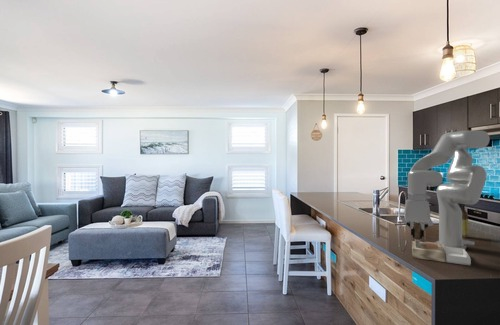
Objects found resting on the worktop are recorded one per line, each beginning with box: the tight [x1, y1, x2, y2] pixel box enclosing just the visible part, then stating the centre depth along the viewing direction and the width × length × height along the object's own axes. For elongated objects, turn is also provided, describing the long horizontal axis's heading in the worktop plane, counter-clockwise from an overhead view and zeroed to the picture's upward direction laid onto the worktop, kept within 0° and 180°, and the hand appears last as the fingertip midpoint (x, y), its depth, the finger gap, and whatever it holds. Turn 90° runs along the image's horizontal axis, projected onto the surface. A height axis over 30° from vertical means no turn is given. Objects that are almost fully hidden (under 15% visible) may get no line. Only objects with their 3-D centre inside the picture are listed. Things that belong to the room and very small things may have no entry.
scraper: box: [413, 222, 422, 248], centre depth 129 cm, size 2×9×10 cm, turn 151°
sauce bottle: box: [457, 203, 470, 239], centre depth 158 cm, size 7×6×20 cm
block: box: [424, 241, 438, 249], centre depth 127 cm, size 4×4×2 cm
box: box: [443, 247, 472, 267], centre depth 122 cm, size 8×14×3 cm, turn 151°
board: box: [411, 240, 447, 263], centre depth 127 cm, size 12×14×4 cm
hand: (417, 237), depth 129 cm, fingers closed on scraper, 2 cm apart
